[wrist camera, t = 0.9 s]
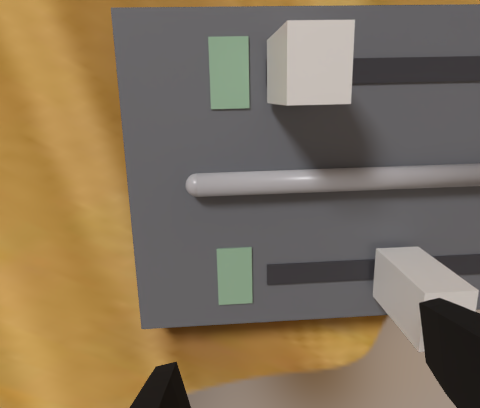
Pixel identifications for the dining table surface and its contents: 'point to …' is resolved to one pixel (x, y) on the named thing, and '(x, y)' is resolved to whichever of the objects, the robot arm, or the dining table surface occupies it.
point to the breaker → (311, 63)
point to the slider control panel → (294, 160)
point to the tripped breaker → (416, 287)
